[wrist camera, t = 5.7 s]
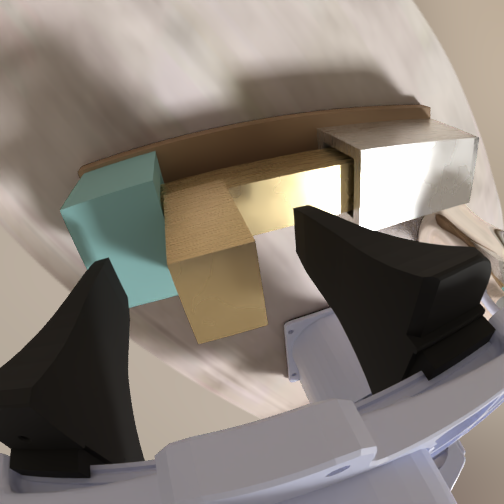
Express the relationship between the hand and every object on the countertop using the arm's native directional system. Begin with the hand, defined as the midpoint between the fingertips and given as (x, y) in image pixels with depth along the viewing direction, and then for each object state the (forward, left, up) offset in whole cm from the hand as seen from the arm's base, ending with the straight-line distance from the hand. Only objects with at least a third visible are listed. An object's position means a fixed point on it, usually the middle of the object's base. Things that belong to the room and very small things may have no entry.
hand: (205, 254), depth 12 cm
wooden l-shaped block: (0, -3, -5) cm, 6 cm away
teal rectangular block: (0, +3, -6) cm, 7 cm away
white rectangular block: (0, -12, -6) cm, 13 cm away
